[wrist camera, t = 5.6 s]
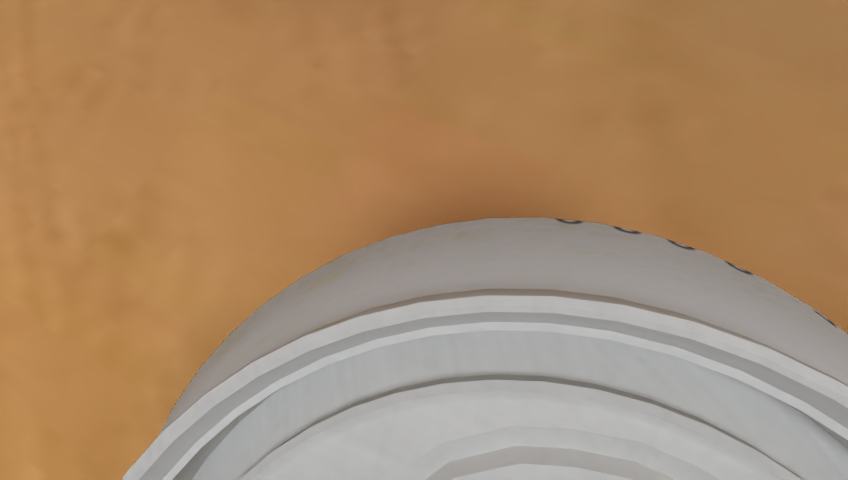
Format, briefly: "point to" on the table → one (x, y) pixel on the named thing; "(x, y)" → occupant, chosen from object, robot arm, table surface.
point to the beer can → (518, 368)
